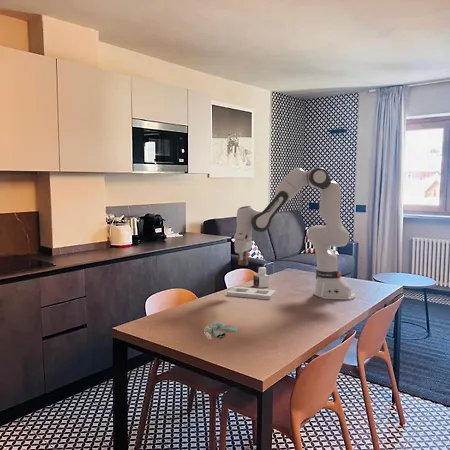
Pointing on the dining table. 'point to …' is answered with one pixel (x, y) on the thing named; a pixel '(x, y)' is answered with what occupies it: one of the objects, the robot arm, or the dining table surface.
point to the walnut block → (243, 259)
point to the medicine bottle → (261, 278)
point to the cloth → (221, 327)
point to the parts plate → (251, 293)
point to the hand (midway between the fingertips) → (243, 259)
